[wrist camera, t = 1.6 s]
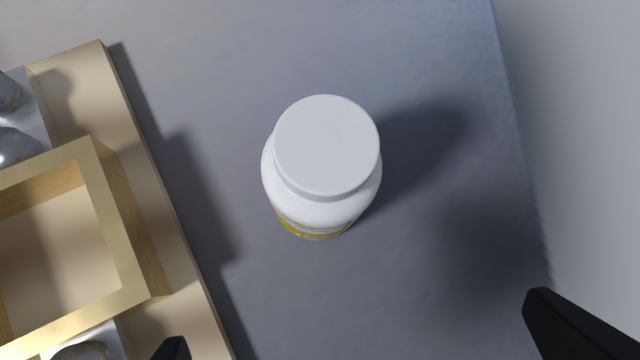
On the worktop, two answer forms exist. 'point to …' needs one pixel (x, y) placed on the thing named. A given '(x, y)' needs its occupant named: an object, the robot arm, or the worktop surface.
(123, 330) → the bottle holder fixture
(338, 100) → the supplement bottle
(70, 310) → the board
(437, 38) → the worktop surface
